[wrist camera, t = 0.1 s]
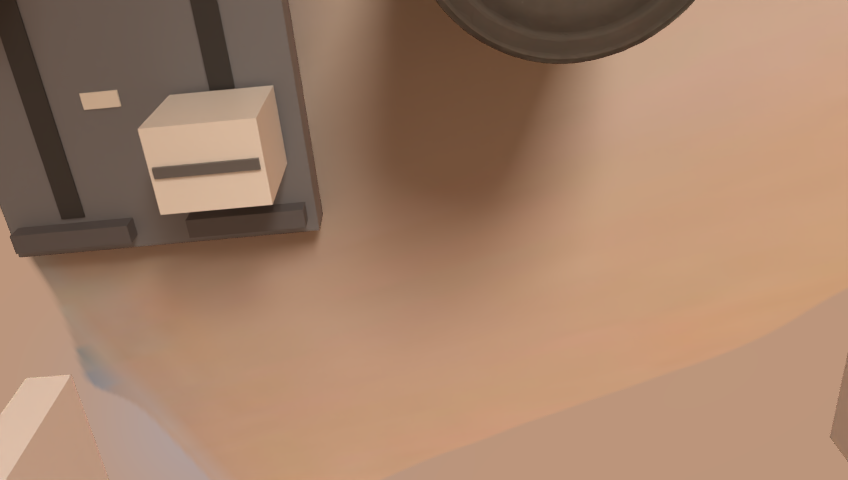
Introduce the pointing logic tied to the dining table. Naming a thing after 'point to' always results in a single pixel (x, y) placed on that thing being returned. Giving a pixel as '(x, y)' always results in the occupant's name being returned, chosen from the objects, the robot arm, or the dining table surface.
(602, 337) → the dining table surface
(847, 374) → the robot arm
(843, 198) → the dining table surface
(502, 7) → the coffee can
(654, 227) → the dining table surface
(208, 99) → the off-white fader knob
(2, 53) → the console
